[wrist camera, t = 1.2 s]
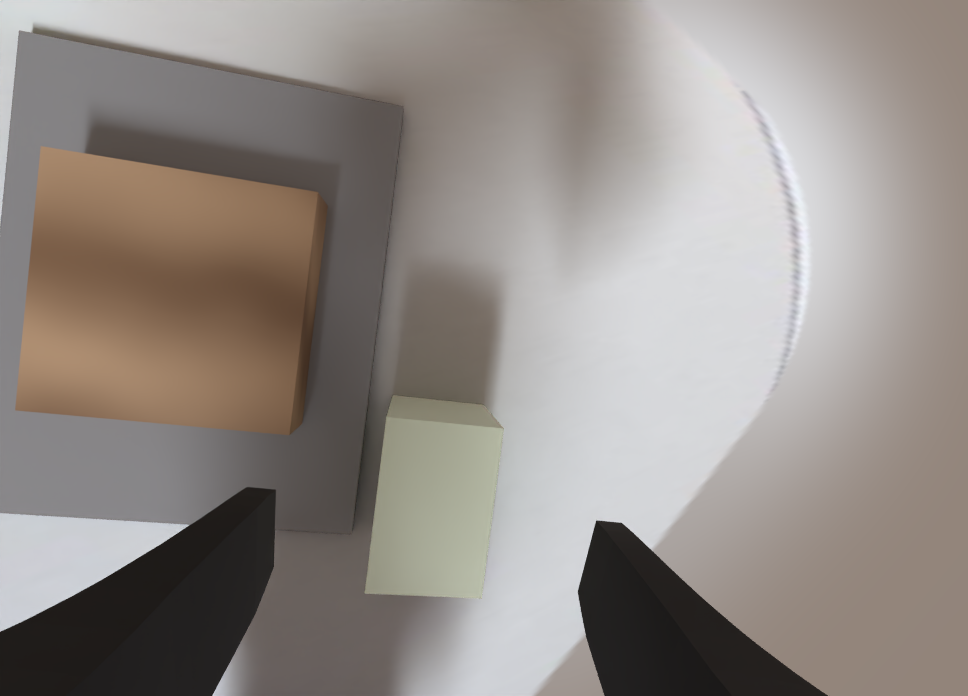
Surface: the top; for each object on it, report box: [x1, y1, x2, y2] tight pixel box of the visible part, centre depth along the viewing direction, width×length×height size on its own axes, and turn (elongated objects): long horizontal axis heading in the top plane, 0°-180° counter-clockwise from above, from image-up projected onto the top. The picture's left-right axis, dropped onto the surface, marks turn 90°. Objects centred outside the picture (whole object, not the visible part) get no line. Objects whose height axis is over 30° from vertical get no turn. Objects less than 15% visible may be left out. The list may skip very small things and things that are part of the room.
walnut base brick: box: [15, 146, 328, 435], centre depth 18 cm, size 9×9×2 cm
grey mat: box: [0, 31, 404, 534], centre depth 19 cm, size 18×14×1 cm
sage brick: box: [364, 395, 504, 599], centre depth 18 cm, size 6×4×5 cm, turn 173°
